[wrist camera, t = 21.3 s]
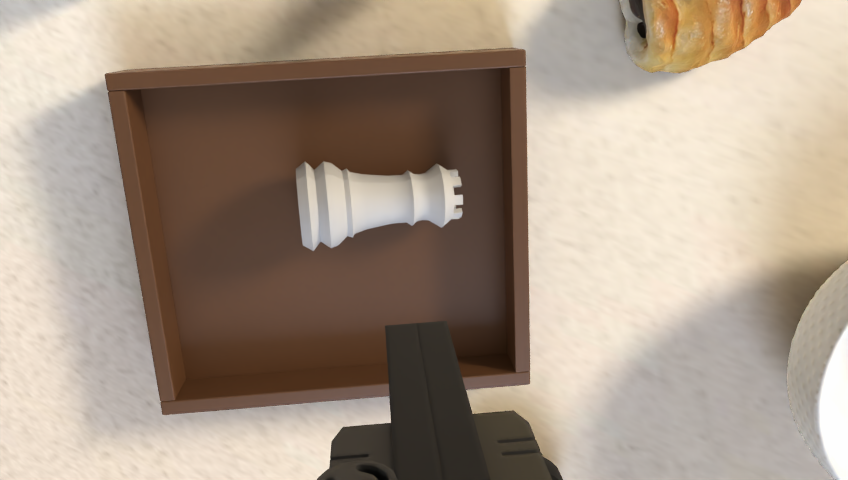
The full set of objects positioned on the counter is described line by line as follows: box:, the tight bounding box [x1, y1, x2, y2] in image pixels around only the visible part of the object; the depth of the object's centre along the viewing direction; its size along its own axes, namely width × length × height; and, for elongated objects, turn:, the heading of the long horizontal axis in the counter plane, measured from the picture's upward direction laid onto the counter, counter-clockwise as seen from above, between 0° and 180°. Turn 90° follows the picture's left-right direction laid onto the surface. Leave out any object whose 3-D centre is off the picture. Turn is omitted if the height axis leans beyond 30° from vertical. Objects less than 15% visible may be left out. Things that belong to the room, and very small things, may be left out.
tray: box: [105, 48, 530, 415], centre depth 38 cm, size 18×20×3 cm
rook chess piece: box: [296, 161, 463, 251], centre depth 37 cm, size 4×4×8 cm
